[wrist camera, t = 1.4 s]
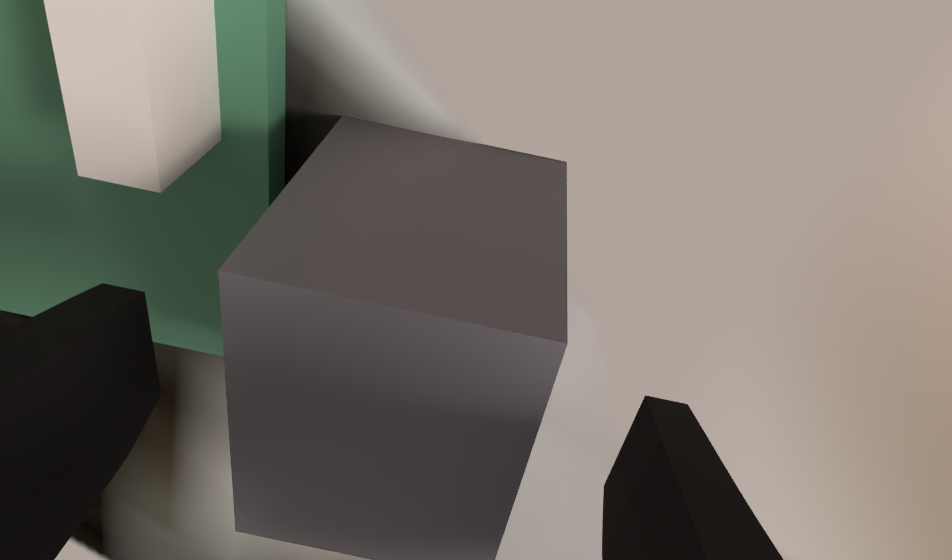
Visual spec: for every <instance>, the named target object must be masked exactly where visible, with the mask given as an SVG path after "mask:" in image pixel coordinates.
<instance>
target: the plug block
mask: <svg viewBox="0 0 952 560" xmlns="http://www.w3.org/2000/svg"><path fill="white" fill-rule="evenodd" d="M566 166H567V162H566V161H561V160H556V159H551V158H547V157H541V156H536V155H532V154H528V153H523V152H518V151H513V150H508V149H504V148H499V147H494V146H490V145H485V144H480V143H476V144H474V143H469V142H464V141H459V140H455V139H450V138H445V137H440V136H436V135H431V134H426V133H421V132H417V131H412V130H407V129H402V128H398V127H393V126H388V125H383V124H379V123H374V122H369V121H364V120H360V119H355V118H350V117H345V116H342V117H341V118H340V120H339V121H338V122H337V123H336V125H335V126H334V127H333V128H332V130H331V131H330V132H329V133H328V134H327V136H326V137H325V138H324V139H323V141H322V142H321V143H320V144H319V146H318V147H317V148H316V149H315V151H314V152H313V153H312V154H311V156H310V157H309V158H308V159H307V161H306V162H305V163H304V164H303V166H302V167H301V168H300V169H299V171H298V172H297V173H296V174H295V176H294V177H293V178H292V179H291V181H290V182H289V183H288V184H287V185H286V187H285V188H284V189H283V190H282V192H281V193H280V194H279V195H278V197H277V198H276V199H275V200H274V202H273V203H272V204H271V205H270V207H269V208H268V209H267V210H266V212H265V213H264V214H263V215H262V217H261V218H260V219H259V220H258V222H257V223H256V224H255V225H254V227H253V228H252V229H251V230H250V232H249V233H248V234H247V235H246V236H245V238H244V239H243V240H242V241H241V243H240V244H239V245H238V246H237V248H236V249H235V250H234V251H233V253H232V254H231V255H230V256H229V258H228V259H227V260H226V261H225V263H224V264H223V265H222V266H221V268H220V269H219V270H218V276H219V290H220V305H221V320H222V335H223V350H224V365H225V380H226V395H227V410H228V424H229V439H230V454H231V469H232V484H233V499H234V514H235V529H236V531H237V532H242V533H247V534H252V535H257V536H261V537H266V538H271V539H276V540H281V541H286V542H290V543H295V544H300V545H305V546H310V547H315V548H319V549H324V550H329V551H334V552H339V553H343V554H348V555H353V556H358V557H363V558H368V559H372V560H495V558H496V555H497V552H498V549H499V546H500V543H501V540H502V537H503V534H504V531H505V528H506V525H507V522H508V519H509V516H510V513H511V510H512V507H513V504H514V501H515V498H516V495H517V492H518V489H519V486H520V483H521V480H522V477H523V474H524V471H525V468H526V465H527V462H528V459H529V456H530V453H531V450H532V447H533V444H534V441H535V438H536V435H537V433H538V430H539V427H540V424H541V421H542V418H543V415H544V412H545V409H546V406H547V403H548V400H549V397H550V394H551V391H552V388H553V385H554V382H555V379H556V376H557V373H558V370H559V367H560V364H561V361H562V358H563V355H564V352H565V349H566V346H567V169H566V168H567V167H566Z"/></svg>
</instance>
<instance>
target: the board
mask: <svg viewBox="0 0 952 560" xmlns="http://www.w3.org/2000/svg"><path fill="white" fill-rule="evenodd" d="M285 53H286V0H0V310H4V311H8V312H13V313H18V314H23V315H27V316H32V317H33V316H35V315H37V314H39V313H41V312H43V311H45V310H47V309H49V308H51V307H53V306H55V305H57V304H59V303H61V302H63V301H65V300H67V299H69V298H71V297H74V296H76V295H78V294H80V293H82V292H84V291H86V290H88V289H91V288H93V287H95V286H97V285H99V284H102V283H105V284H110V285H114V286H119V287H124V288H129V289H134V290H139V291H143V292H145V296H146V302H147V309H148V315H149V322H150V328H151V335H152V341H153V342H157V343H162V344H166V345H171V346H176V347H181V348H186V349H190V350H195V351H200V352H205V353H210V354H214V355H219V356H224V350H223V335H222V320H221V305H220V290H219V276H218V270H219V269H220V268H221V266H222V265H223V264H224V263H225V261H226V260H227V259H228V258H229V256H230V255H231V254H232V253H233V251H234V250H235V249H236V248H237V246H238V245H239V244H240V243H241V241H242V240H243V239H244V238H245V236H246V235H247V234H248V233H249V232H250V230H251V229H252V228H253V227H254V225H255V224H256V223H257V222H258V220H259V219H260V218H261V217H262V215H263V214H264V213H265V212H266V210H267V209H268V208H269V207H270V205H271V204H272V203H273V202H274V200H275V199H276V198H277V197H278V195H279V194H280V193H281V192H282V190H283V189H284V188H285Z"/></svg>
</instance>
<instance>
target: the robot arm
mask: <svg viewBox="0 0 952 560" xmlns="http://www.w3.org/2000/svg"><path fill="white" fill-rule="evenodd" d="M160 395H161V393H160V386H159V380H158V373H157V367H156V361H155V354H154V348H153V341H152V335H151V328H150V322H149V315H148V309H147V302H146V296H145V292H143V291H139V290H134V289H129V288H124V287H119V286H114V285H110V284H105V283H102V284H99V285H97V286H95V287H93V288H91V289H88V290H86V291H84V292H82V293H80V294H78V295H76V296H74V297H71V298H69V299H67V300H65V301H63V302H61V303H59V304H57V305H55V306H53V307H51V308H49V309H47V310H45V311H43V312H41V313H39V314H37V315H35V316H33V317H32V318H30V319H28V320H26V321H24V322H22V323H20V324H18V325H16V326H14V327H12V328H10V329H8V330H6V331H4V332H2V333H0V560H54V559H55V558H56V556H57V555H58V554H59V552H60V551H61V549H62V548H63V546H64V545H65V544H66V542H67V541H68V540H69V538H70V537H71V536H72V534H73V533H74V531H75V530H76V529H77V527H78V526H79V524H80V523H81V522H82V520H83V519H84V517H85V516H86V515H87V513H88V512H89V510H90V509H91V508H92V506H93V505H94V503H95V502H96V501H97V499H98V498H99V496H100V495H101V494H102V492H103V491H104V489H105V488H106V486H107V485H108V484H109V482H110V481H111V479H112V478H113V477H114V475H115V474H116V472H117V471H118V469H119V468H120V467H121V465H122V464H123V462H124V461H125V459H126V458H127V456H128V455H129V453H130V451H131V449H132V447H133V446H134V444H135V442H136V440H137V438H138V437H139V435H140V433H141V431H142V429H143V428H144V426H145V424H146V422H147V420H148V418H149V416H150V414H151V412H152V410H153V408H154V406H155V404H156V402H157V400H158V399H159V397H160ZM602 559H603V560H783V558H782V557H781V555H780V554H779V552H778V551H777V549H776V548H775V546H774V544H773V543H772V541H771V540H770V538H769V537H768V535H767V534H766V532H765V530H764V529H763V527H762V526H761V524H760V523H759V521H758V520H757V518H756V517H755V515H754V513H753V512H752V510H751V509H750V507H749V505H748V504H747V502H746V501H745V499H744V497H743V496H742V494H741V492H740V491H739V489H738V487H737V486H736V484H735V483H734V481H733V479H732V478H731V476H730V474H729V473H728V471H727V469H726V468H725V466H724V464H723V463H722V461H721V459H720V458H719V456H718V454H717V453H716V451H715V449H714V448H713V446H712V444H711V442H710V441H709V439H708V437H707V436H706V434H705V432H704V431H703V429H702V428H701V426H700V424H699V422H698V421H697V419H696V418H695V416H694V414H693V412H692V411H691V409H690V408H689V406H688V405H687V404H684V403H679V402H674V401H669V400H664V399H659V398H654V397H650V396H645V398H644V400H643V402H642V404H641V406H640V408H639V410H638V413H637V415H636V417H635V419H634V421H633V424H632V426H631V428H630V430H629V432H628V434H627V437H626V439H625V441H624V443H623V445H622V448H621V450H620V452H619V454H618V456H617V458H616V461H615V463H614V465H613V467H612V469H611V472H610V474H609V476H608V478H607V480H606V482H605V485H604V500H603V533H602Z"/></svg>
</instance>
